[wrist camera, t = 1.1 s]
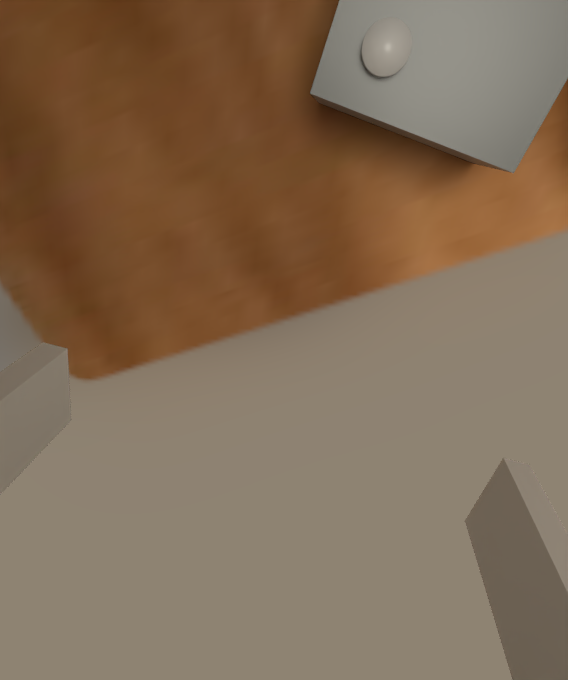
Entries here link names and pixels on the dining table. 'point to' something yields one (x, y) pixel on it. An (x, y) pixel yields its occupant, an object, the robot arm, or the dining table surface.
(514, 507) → the robot arm
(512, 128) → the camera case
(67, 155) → the dining table surface
